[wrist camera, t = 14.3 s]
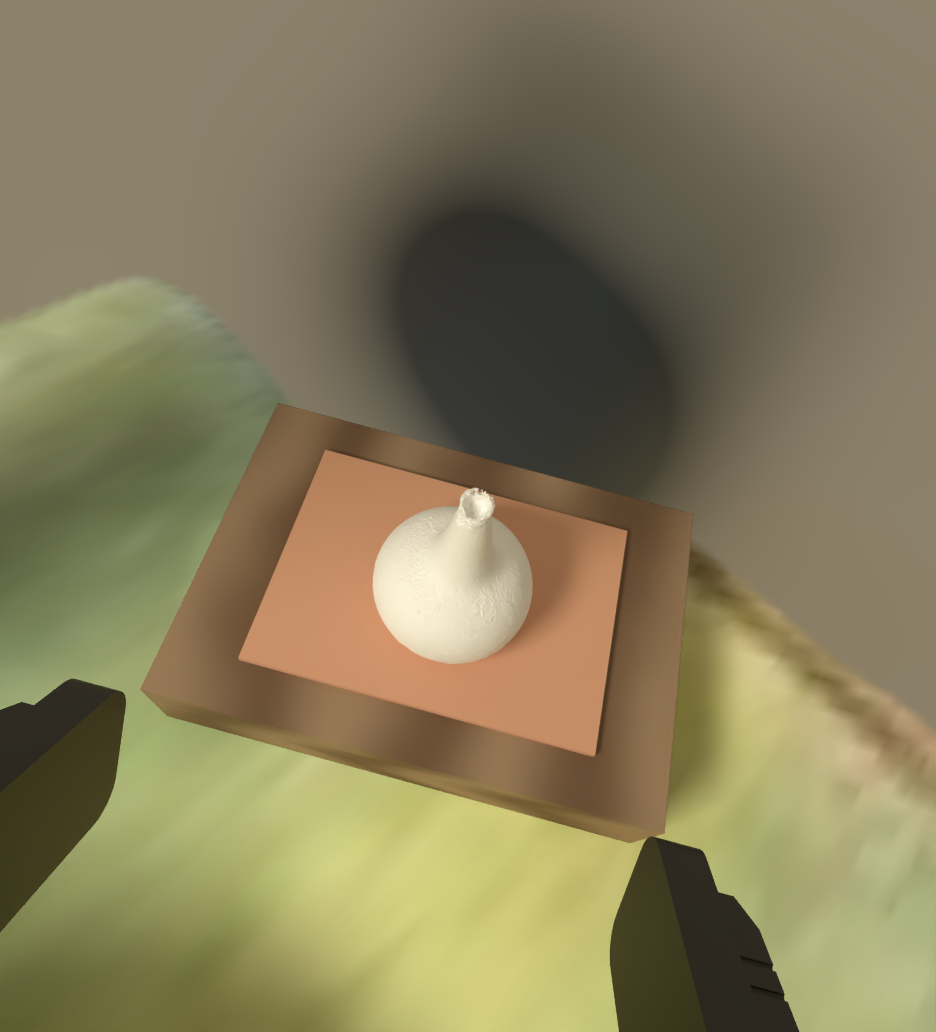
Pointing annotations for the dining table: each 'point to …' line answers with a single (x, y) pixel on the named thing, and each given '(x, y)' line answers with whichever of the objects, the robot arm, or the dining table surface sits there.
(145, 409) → the dining table surface
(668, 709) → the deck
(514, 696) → the mat
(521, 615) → the garlic bulb
